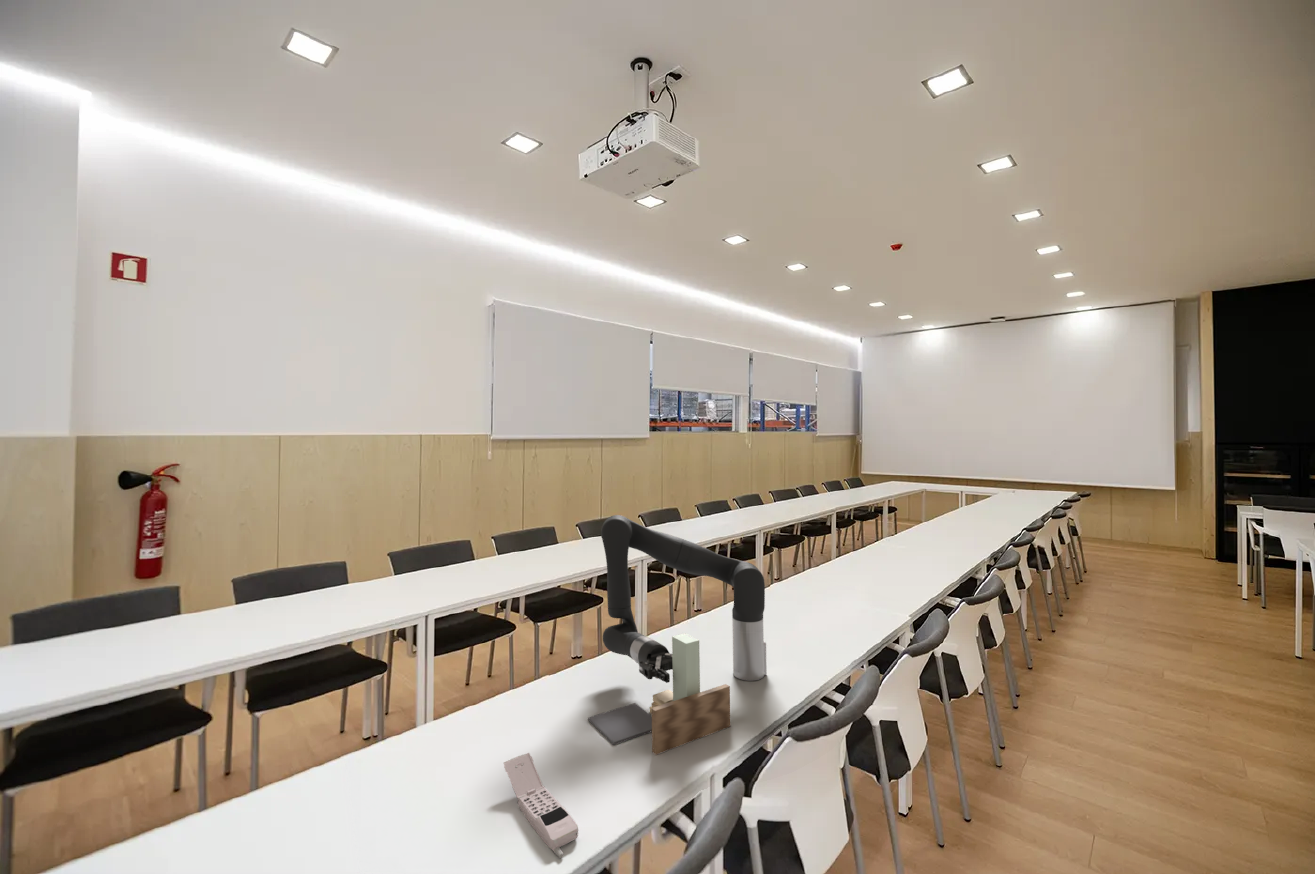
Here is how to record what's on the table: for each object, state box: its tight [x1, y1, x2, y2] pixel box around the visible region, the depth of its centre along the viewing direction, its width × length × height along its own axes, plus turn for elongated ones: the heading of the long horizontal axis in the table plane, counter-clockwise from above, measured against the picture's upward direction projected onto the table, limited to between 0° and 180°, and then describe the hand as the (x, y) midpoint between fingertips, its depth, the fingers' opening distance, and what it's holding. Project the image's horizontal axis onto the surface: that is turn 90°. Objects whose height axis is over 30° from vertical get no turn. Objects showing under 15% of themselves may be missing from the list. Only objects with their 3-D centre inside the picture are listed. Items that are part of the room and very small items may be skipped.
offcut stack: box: [649, 689, 673, 714], centre depth 145 cm, size 7×7×4 cm
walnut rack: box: [651, 683, 731, 756], centre depth 135 cm, size 22×8×10 cm, turn 123°
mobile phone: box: [503, 752, 579, 859], centre depth 106 cm, size 6×6×25 cm
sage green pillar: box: [671, 633, 701, 701], centre depth 138 cm, size 4×6×22 cm, turn 33°
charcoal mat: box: [587, 702, 652, 746], centre depth 140 cm, size 14×14×1 cm
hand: (682, 674), depth 139 cm, fingers open, 8 cm apart
